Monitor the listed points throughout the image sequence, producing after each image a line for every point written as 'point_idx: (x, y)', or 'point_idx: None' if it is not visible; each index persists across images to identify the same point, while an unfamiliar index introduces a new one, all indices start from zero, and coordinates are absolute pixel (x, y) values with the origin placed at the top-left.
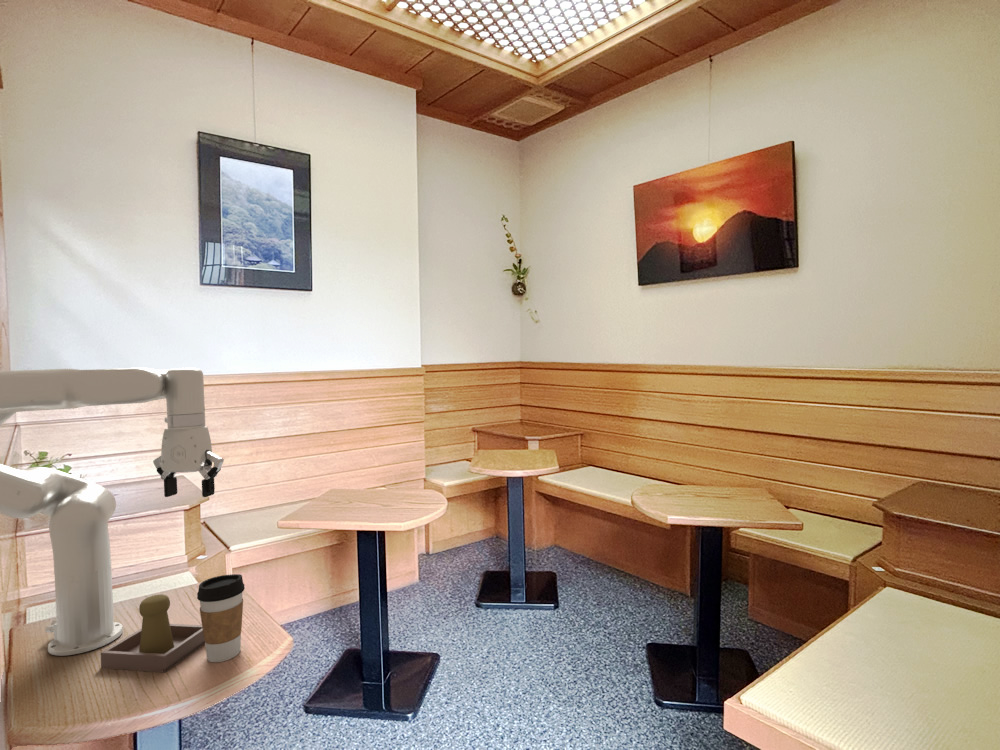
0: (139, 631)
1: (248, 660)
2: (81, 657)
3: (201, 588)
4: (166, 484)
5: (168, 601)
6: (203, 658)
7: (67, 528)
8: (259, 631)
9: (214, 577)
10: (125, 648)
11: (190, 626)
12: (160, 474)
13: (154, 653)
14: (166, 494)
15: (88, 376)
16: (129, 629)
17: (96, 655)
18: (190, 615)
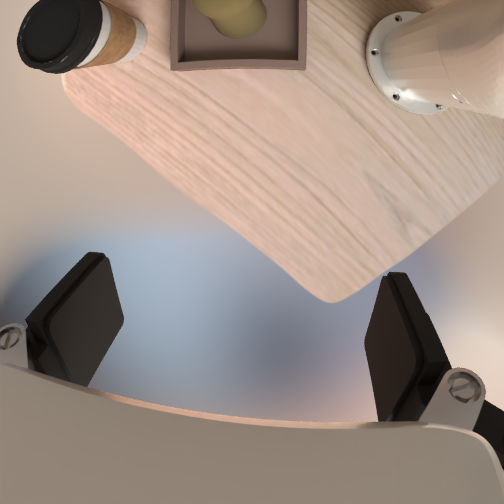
0: (300, 35)
1: None
2: (374, 8)
3: None
4: (412, 333)
5: (192, 1)
6: (149, 23)
7: None
8: (116, 112)
9: (75, 40)
10: (298, 7)
11: (206, 61)
12: (494, 411)
13: None
14: (394, 280)
15: None
16: (373, 99)
17: (353, 11)
18: (291, 155)
